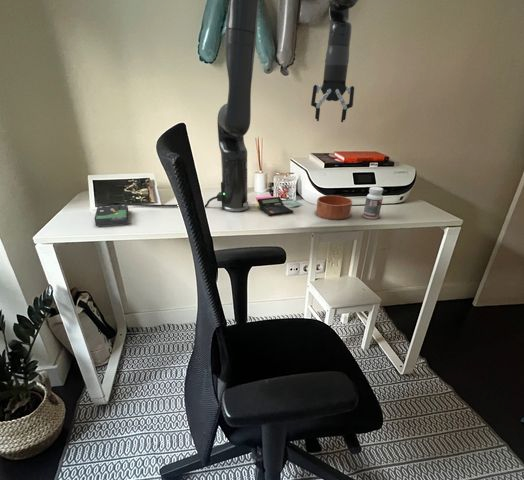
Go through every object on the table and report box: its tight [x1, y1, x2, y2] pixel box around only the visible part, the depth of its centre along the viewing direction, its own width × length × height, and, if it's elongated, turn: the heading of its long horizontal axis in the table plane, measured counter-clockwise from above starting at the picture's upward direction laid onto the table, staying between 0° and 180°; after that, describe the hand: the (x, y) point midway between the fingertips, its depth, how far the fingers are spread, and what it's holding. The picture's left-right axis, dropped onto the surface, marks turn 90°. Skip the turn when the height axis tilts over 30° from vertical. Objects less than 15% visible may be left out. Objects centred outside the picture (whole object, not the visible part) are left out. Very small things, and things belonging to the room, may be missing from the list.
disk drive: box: [94, 204, 130, 227], centre depth 126 cm, size 10×3×15 cm
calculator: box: [257, 196, 294, 217], centre depth 138 cm, size 9×12×3 cm
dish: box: [315, 195, 353, 221], centre depth 135 cm, size 13×13×5 cm
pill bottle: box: [362, 186, 384, 220], centre depth 132 cm, size 6×6×10 cm
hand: (329, 121), depth 130 cm, fingers open, 8 cm apart
